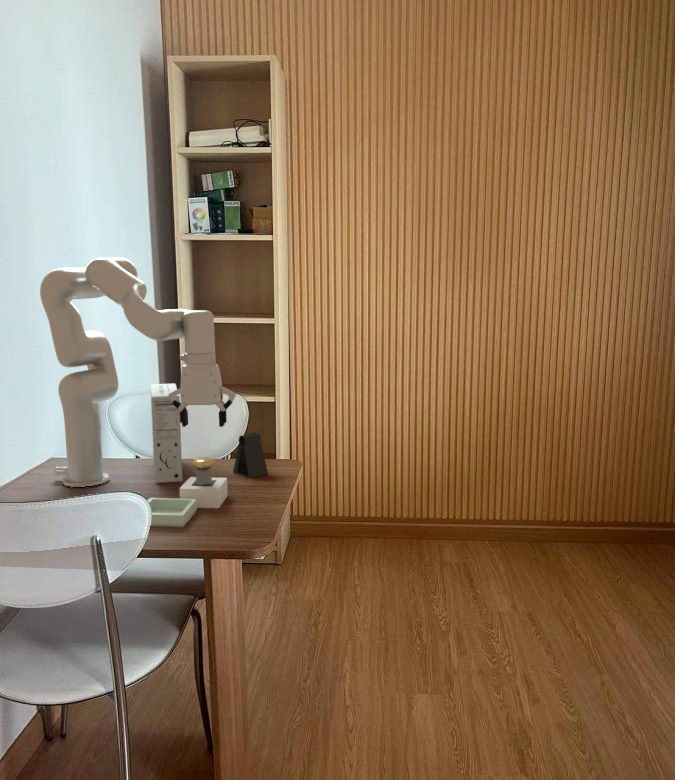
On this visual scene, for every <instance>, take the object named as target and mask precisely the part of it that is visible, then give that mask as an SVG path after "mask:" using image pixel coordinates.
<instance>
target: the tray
mask: <svg viewBox="0 0 675 780" xmlns="http://www.w3.org/2000/svg"><path fill="white" fill-rule="evenodd" d="M146 501H148V502H149V504H150V506H151V509H152V525H151V527H155V528H157V527H159V528H185V527H186V526H187V523H189V522H190V521H191V519H192V518H193V517H194V515H195V514H196V513H197V511H198V508H197V499H180V498H179V497H177V498H172V497H171V498H170V497H169V498H168V497H150V498H149V499H148V500H146ZM151 527H150V528H151Z"/></svg>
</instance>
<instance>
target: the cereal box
mask: <svg viewBox="0 0 675 780" xmlns="http://www.w3.org/2000/svg"><path fill="white" fill-rule="evenodd" d="M177 389H178V388H177V384H176V383H157V384H156V383H153V384H150V389H149V390H150V404H151V406H150V408H151V409H150V411H151V429H152V431H151V432H152V450H153V451H152V453H153V455H152V456H153V468H154V469H153V470H154V471H153V472H154V482H155V484H164V483H180V482H183V464H182V463H183V462H182V437H181V436H182V435H181V434H182V433H181V423H180V411H178V409H177V408H176V407H175V406H174V405H173V404H172V401H171V400H170V398H169V396H168V395H169V394H170V393H172V392H173V391H175V390H177ZM176 398H177V400H178V401H179V402H180V403H181V400H180V394H178V395H176Z"/></svg>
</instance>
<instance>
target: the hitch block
mask: <svg viewBox="0 0 675 780" xmlns="http://www.w3.org/2000/svg"><path fill="white" fill-rule="evenodd" d="M228 492H229V491H228V478H227V477H212V487H211V486H196V476H190V477H189V478H188V479H187V480H186V481H185V482H184V483H183V484H182V485H181V486H180V487H179V499H197V509H198V508H200V509H201V508H202V509H219V508H220V507H221V506H222V504H224V502H225V500H226V499H227V498H228V496H229V495H228Z"/></svg>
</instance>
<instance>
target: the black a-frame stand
mask: <svg viewBox="0 0 675 780" xmlns="http://www.w3.org/2000/svg"><path fill="white" fill-rule="evenodd" d="M261 440H262V436H261V434H260V433H259V432H252V433H247V434H243V435H239V437H238V448H237V452H236V456H235V460H234V467H233V470H232V473H233V474H236V475H239V476H242V477H245V478H249V479H256V478H259V477H262V476H267V475H269V472H268V467H267V463H266V459H265V456H264V455H265V454H264V451H263V447H262V442H261Z"/></svg>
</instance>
